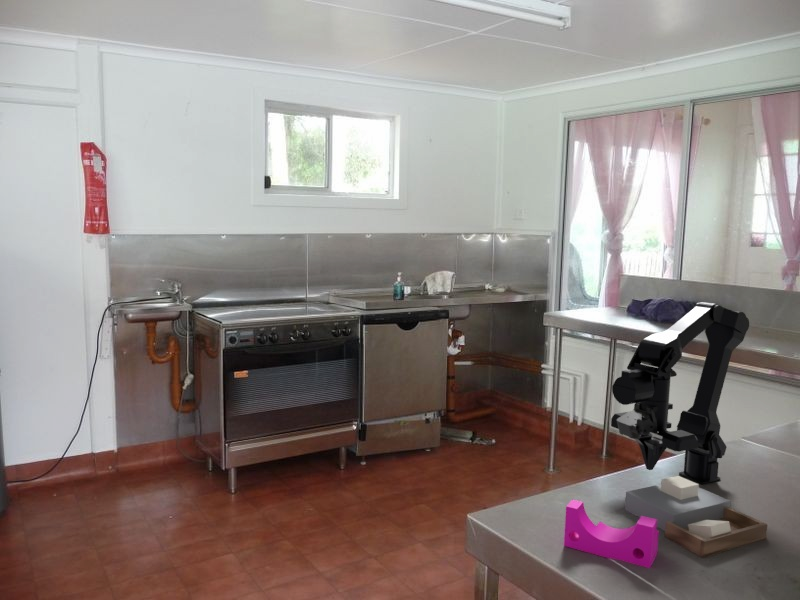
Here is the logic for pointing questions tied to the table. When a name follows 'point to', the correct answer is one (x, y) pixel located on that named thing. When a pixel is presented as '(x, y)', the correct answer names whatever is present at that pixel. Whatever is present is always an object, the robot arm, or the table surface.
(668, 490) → the tile
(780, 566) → the table surface
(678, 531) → the box
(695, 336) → the robot arm
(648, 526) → the toy block
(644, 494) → the board
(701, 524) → the tile
